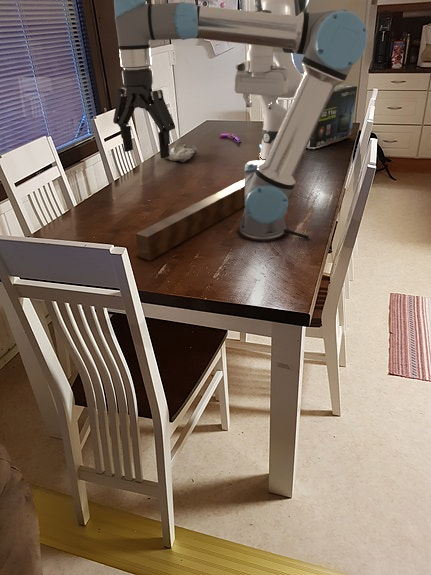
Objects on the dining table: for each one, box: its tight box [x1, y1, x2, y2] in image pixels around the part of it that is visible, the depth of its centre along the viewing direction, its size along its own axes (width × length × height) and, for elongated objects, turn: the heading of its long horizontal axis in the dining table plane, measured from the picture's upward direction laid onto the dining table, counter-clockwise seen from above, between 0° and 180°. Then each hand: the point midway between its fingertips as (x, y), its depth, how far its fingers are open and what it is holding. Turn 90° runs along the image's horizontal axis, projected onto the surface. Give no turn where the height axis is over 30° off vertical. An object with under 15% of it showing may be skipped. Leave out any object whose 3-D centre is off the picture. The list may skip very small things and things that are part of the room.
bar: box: [135, 178, 245, 261], centre depth 159 cm, size 71×5×8 cm, turn 144°
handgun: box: [220, 132, 242, 145], centre depth 257 cm, size 21×8×2 cm, turn 11°
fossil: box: [162, 142, 199, 163], centre depth 229 cm, size 18×11×15 cm
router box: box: [307, 84, 358, 151], centre depth 238 cm, size 36×11×27 cm, turn 134°
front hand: (146, 153), depth 125 cm, fingers open, 13 cm apart
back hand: (259, 108), depth 164 cm, fingers open, 8 cm apart
